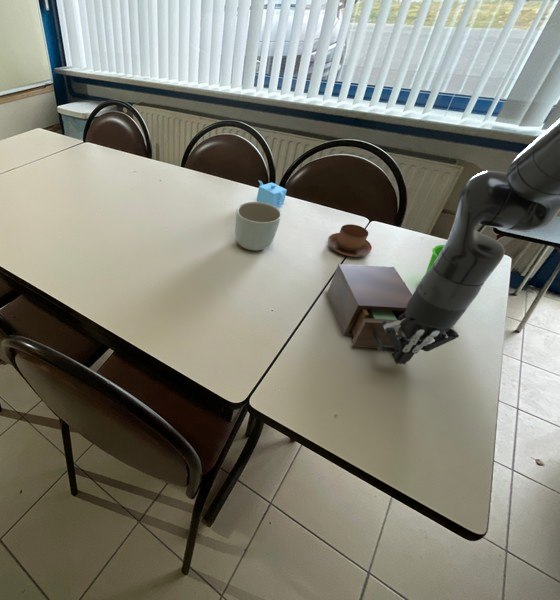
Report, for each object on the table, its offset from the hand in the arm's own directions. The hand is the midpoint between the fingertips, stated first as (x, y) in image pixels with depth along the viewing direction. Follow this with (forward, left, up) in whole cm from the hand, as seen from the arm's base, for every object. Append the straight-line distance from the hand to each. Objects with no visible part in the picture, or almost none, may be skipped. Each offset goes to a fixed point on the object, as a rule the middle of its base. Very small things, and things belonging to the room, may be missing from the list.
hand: (398, 360), depth 72 cm
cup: (+28, -21, -4) cm, 36 cm away
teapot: (+73, +15, -4) cm, 75 cm away
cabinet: (+17, 0, -4) cm, 18 cm away
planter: (+46, +23, -4) cm, 52 cm away
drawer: (+10, 0, -3) cm, 11 cm away
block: (+11, 0, -2) cm, 11 cm away
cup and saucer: (+46, -5, -4) cm, 47 cm away
